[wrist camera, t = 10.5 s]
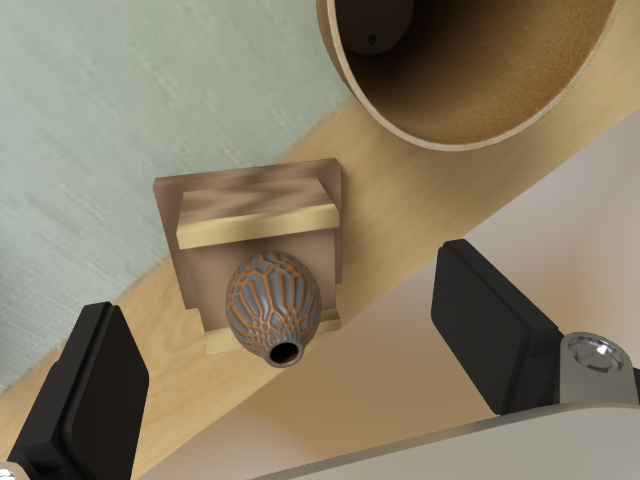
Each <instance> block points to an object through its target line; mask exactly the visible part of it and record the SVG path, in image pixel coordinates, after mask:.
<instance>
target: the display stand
mask: <svg viewBox="0 0 640 480" xmlns="http://www.w3.org/2000/svg"><path fill="white" fill-rule="evenodd" d="M153 190H154V194H155V198H156V201H157V205H158V209H159V212H160V216H161V220H162V223H163V227H164V231H165V235H166V238H167V242H168V246H169V249H170V253H171V257H172V260H173V264H174V268H175V271H176V275H177V279H178V282H179V286H180V290H181V293H182V297H183V301H184V305H185V308H186V310H187V309H193V308H199V311H200V315H201V319H202V323H203V327H204V331H205V339H204V345H205V349H206V353H207V355H210V354H215V353H220V352H225V351H230V350H235V349H241V348H244V347H243V346H242V345H241V344H240V343H239V342H238V340H237V339H236V337H235V336H234V334H233V332H232V331H231V329H230V326H229V324H228V321H227V317H226V311H225V297H226V290H227V287H228V284H229V281H230V279H231V277H232V275H233V273H234V272H235V270H236V269H237V268H238V267H239V266H240V265H241V264H242V263H243V262H244V261H245V260H246V259H248V258H250V257H251V256H253V255H256V254H259V253H262V252H268V251H278V252H283V253H287V254H289V255H291V256H293V257H295V258H297V259H298V260H300V261H301V262H302V263H303V264H305V265H306V266H307V268H308V269H309V270H310V271H311V273H312V274H313V276H314V278H315V280H316V282H317V284H318V286H319V290H320V293H321V299H322V314H321V320H320V324H319V327H318V329H317V331H316V333H315V334H318V333H323V332H328V331H333V330H338V329H340V317H339V314H338V312H337V310H336V297H335V284H338V283H342V230H341V165H340V163H339V162H338V161H337V160H336V159H335V158H333V159H324V160H315V161H306V162H297V163H288V164H279V165H270V166H261V167H252V168H243V169H234V170H225V171H216V172H207V173H198V174H189V175H180V176H171V177H162V178H156V179H155V181H154V184H153Z"/></svg>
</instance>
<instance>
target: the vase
mask: <svg viewBox="0 0 640 480" xmlns="http://www.w3.org/2000/svg"><path fill="white" fill-rule="evenodd" d="M225 311H226V317H227V321H228V324H229V326H230V329H231V331H232V332H233V334H234V336H235V337H236V339H237V340H238V342H239V343H240V344H241V345H242V346H243V347H244V348H246V349H247V350H248V351H250V352H252V353H253V354H255V355H258V356H260V357H262V358H264V359H265V360H266V362H267V363H268V364H269V365H271V366H273V367H276V368H286V367H290V366H292V365H294V364H296V363H297V362H298V361H299V360H300V359H301V358H302V356H303V353H304V349H305V347H306V346H307V345H308V343H309V342H310V341H311V340H312V338H313V337H314V335H315V333H316V331H317V329H318V327H319V324H320V320H321V314H322V299H321V293H320V290H319V286H318V284H317V282H316V280H315V278H314V276H313V274H312V273H311V271H310V270H309V269H308V268H307V266H306V265H305V264H303V263H302V262H301V261H300V260H298V259H297V258H295V257H293V256H291V255H289V254H287V253H283V252H278V251H268V252H262V253H259V254H256V255H253V256H251V257H250V258H248V259H246V260H245V261H244V262H243V263H242V264H241V265H240V266H239V267H238V268H237V269H236V270H235V272H234V273H233V275H232V277H231V279H230V281H229V284H228V287H227V290H226V297H225Z"/></svg>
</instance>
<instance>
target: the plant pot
mask: <svg viewBox="0 0 640 480" xmlns="http://www.w3.org/2000/svg"><path fill="white" fill-rule="evenodd" d="M621 3H622V0H316V8H317V17H318V23H319V27H320V31H321V35H322V38H323V41H324V44H325V47H326V49H327V52H328V54H329V56H330V58H331V60H332V62H333V64H334V66H335V68H336V70H337V71H338V73H339V75H340V76H341V78H342V80H343V81H344V82H345V84H346V85H347V87H348V88H349V89H350V91H351V92H352V93H353V95H354V96H355V97H356V98H357V100H358V101H359V102H360V103H361V104H362V105H363V107H364V108H365V109H366V110H367V111H368V112H369V113H370V114H371V115H372V116H373V118H374V119H375V120H376V121H378V122H379V123H380V124H381V125H382V126H384V127H385V128H386V129H387V130H388V131H390V132H391V133H393V134H394V135H396V136H397V137H399V138H401V139H403V140H405V141H407V142H409V143H412V144H414V145H417V146H420V147H423V148H427V149H432V150H438V151H447V152H457V151H468V150H474V149H479V148H483V147H486V146H490V145H493V144H495V143H498V142H501V141H503V140H505V139H507V138H510V137H511V136H513V135H515V134H517V133H519V132H521V131H523V130H524V129H526V128H527V127H529V126H530V125H532V124H533V123H535V122H536V121H538V120H539V119H540V118H542V117H543V116H544V115H545V114H546V113H547V112H549V111H550V110H551V109H552V108H553V107H554V106H555V105H556V104H557V103H558V102H559V101H560V100H561V99H562V98H563V97H564V96H565V95H566V94H567V93H568V92H569V91H570V90H571V89H572V87H573V86H574V85H575V84H576V82H577V81H578V80H579V79H580V77H581V76H582V75H583V73H584V72H585V70H586V69H587V68H588V66H589V65H590V63H591V62H592V60H593V59H594V57H595V56H596V54H597V52H598V50H599V49H600V47H601V45H602V44H603V42H604V40H605V38H606V36H607V34H608V32H609V30H610V28H611V26H612V24H613V22H614V20H615V18H616V15H617V13H618V11H619V8H620V5H621ZM373 35H374V36H375V40H374V42H372V40H371V38H372V36H373Z"/></svg>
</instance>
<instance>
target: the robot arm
mask: <svg viewBox="0 0 640 480" xmlns="http://www.w3.org/2000/svg"><path fill="white" fill-rule="evenodd" d="M431 318H432V321H433V323H434V325H435V327H436V328H437V330H438V331H439V333H440V334H441V336H442V337H443V339H444V340H445V342H446V343H447V344H448V346H449V348H450V349H451V350H452V352H453V353H454V355H455V356H456V358H457V359H458V361H459V362H460V364H461V365H462V367H463V368H464V370H465V371H466V373H467V374H468V376H469V377H470V379H471V380H472V382H473V383H474V385H475V386H476V388H477V389H478V391H479V392H480V394H481V395H482V396H483V398H484V399H485V401H486V402H487V404H488V406H489V407H490V409H491V410H492V411H493V412H494V413H495V414H497V415H499V414H500V415H501V416H499V417H494V418H490V419H486V420H481V421H477V422H473V423H469V424H465V425H461V426H457V427H453V428H450V429H445V430H441V431H437V432H433V433H429V434H425V435H421V436H417V437H413V438H409V439H405V440H401V441H397V442H393V443H389V444H385V445H381V446H377V447H373V448H369V449H365V450H361V451H357V452H353V453H350V454H346V455H342V456H338V457H334V458H330V459H326V460H323V461H318V462H314V463H311V464H306V465H303V466H299V467H295V468H291V469H287V470H283V471H279V472H275V473H272V474H268V475H264V476H260V477H256V478H253V479H248V480H640V369H637V368H634V367H633V366H632V363H631V360H630V358H629V356H628V355H627V354H626V353H625V351H624V350H623V349H622V348H620V347H619V346H618V345H617V344H615V343H614V342H612V341H610V340H608V339H606V338H604V337H602V336H599V335H596V334H592V333H586V332H573V333H570V334H567V335H566V336H564V335H563V334H562V333H561V332H560V331H559V330H558V327H557V326H556V325H555V324H554V323H553V322H552V321H551V320H550V319H549V318H548V317H547V316H546V315H545V314H544V313H543V312H542V311H541V310H539V309H538V308H537V307H536V306H535V305H534V304H533V303H532V302H531V301H530V300H529V299H528V298H527V297H526V296H525V295H524V294H523V293H522V292H520V291H519V290H518V289H517V288H516V287H515V286H514V285H513V284H512V283H511V282H510V281H509V280H508V279H507V278H506V277H505V276H504V275H502V274H501V273H500V272H499V271H498V270H497V269H496V268H495V267H494V266H493V265H492V264H491V263H490V262H489V261H488V260H487V259H486V258H485V257H484V256H483V255H481V254H480V253H479V252H478V251H477V250H476V249H475V248H474V247H473V246H472V245H471V244H470V243H469V242H468V241H466V240H465V239H458V240H452V241H446V242H445V243H444V244H443V247H440V248H439V250H438V256H437V265H436V274H435V282H434V291H433V300H432V308H431ZM148 387H149V374H148V370H147V368H146V366H145V363H144V361H143V359H142V357H141V354H140V352H139V350H138V347H137V345H136V343H135V341H134V338H133V336H132V334H131V332H130V329H129V327H128V325H127V322H126V320H125V318H124V316H123V313H122V311H121V309H120V307H119V306H118V305H115V306H113V305H112V304H111V303H110V302H108V301H107V302H101V303H96V304H90V305H86V306H84V308H83V309H82V311H81V313H80V315H79V318H78V320H77V322H76V324H75V326H74V328H73V330H72V333H71V335H70V337H69V339H68V341H67V343H66V346H65V348H64V350H63V352H62V354H61V356H60V358H59V360H58V361H57V362H55V363H54V364H53V366H52V367H51V369H50V371H49V373H48V375H47V377H46V379H45V381H44V384H43V386H42V388H41V390H40V392H39V394H38V396H37V398H36V400H35V402H34V405H33V407H32V409H31V411H30V413H29V415H28V417H27V419H26V421H25V423H24V425H23V428H22V430H21V432H20V434H19V436H18V438H17V440H16V442H15V444H14V446H13V448H12V451H11V453H10V455H9V457H8V459H7V461H6V462H1V463H0V480H130V479H131V473H132V468H133V463H134V458H135V453H136V448H137V443H138V438H139V433H140V427H141V422H142V417H143V412H144V407H145V402H146V397H147V392H148Z"/></svg>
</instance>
